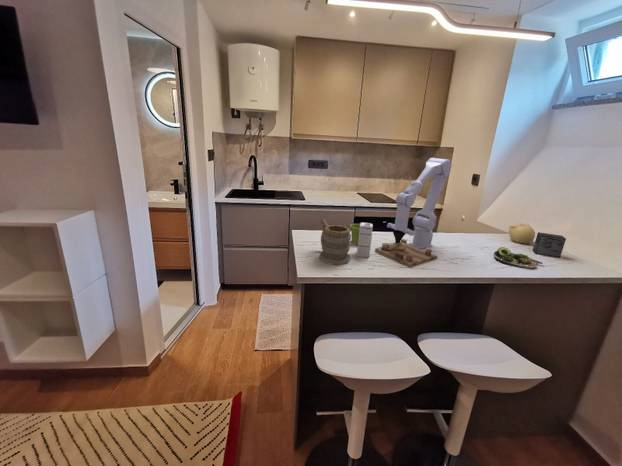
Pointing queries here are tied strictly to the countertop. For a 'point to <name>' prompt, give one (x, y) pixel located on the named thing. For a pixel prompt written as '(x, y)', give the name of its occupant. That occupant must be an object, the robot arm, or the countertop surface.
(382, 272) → the countertop surface
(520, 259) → the salad plate
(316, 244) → the countertop surface
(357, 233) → the plant pot
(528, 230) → the pale yellow rounded lump
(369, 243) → the syrup box
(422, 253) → the brown wooden flat board
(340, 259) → the tankard
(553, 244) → the small box
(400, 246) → the long beige beam
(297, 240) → the countertop surface
